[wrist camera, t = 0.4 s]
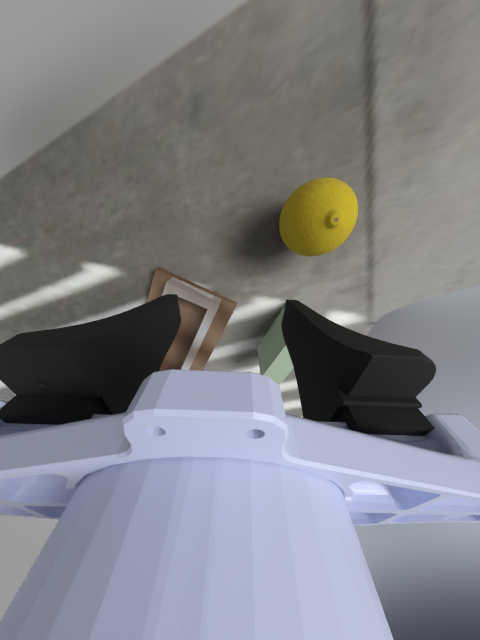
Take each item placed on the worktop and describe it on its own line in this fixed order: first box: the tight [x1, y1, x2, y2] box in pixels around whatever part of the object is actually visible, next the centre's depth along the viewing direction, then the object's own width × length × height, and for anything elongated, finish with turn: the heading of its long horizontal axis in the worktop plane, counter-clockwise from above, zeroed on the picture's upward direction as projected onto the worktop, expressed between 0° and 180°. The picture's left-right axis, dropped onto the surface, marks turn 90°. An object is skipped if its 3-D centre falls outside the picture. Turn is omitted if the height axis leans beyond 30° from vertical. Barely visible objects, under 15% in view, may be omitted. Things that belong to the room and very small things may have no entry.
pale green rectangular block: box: [257, 304, 294, 385], centre depth 22 cm, size 8×2×6 cm, turn 154°
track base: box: [147, 267, 236, 371], centre depth 24 cm, size 16×10×3 cm, turn 154°
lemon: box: [279, 178, 358, 256], centre depth 15 cm, size 6×6×8 cm
